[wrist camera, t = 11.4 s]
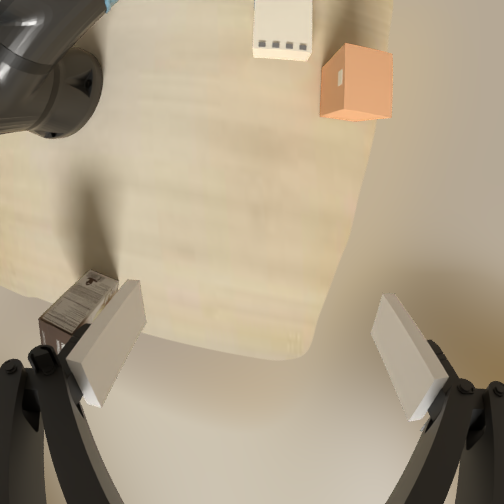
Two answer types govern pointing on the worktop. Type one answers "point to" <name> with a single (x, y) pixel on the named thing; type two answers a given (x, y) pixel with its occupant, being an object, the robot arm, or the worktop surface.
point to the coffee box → (76, 308)
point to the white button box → (282, 29)
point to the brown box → (357, 84)
